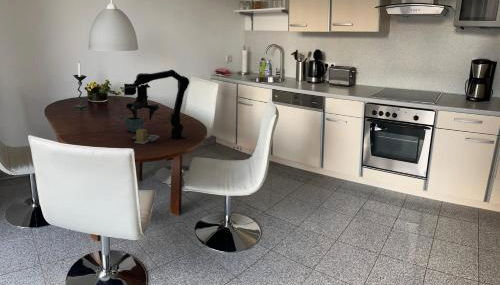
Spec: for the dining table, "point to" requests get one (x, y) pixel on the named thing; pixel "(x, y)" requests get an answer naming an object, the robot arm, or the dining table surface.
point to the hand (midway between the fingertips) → (143, 120)
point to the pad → (142, 142)
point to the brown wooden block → (141, 135)
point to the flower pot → (134, 123)
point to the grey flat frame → (151, 137)
